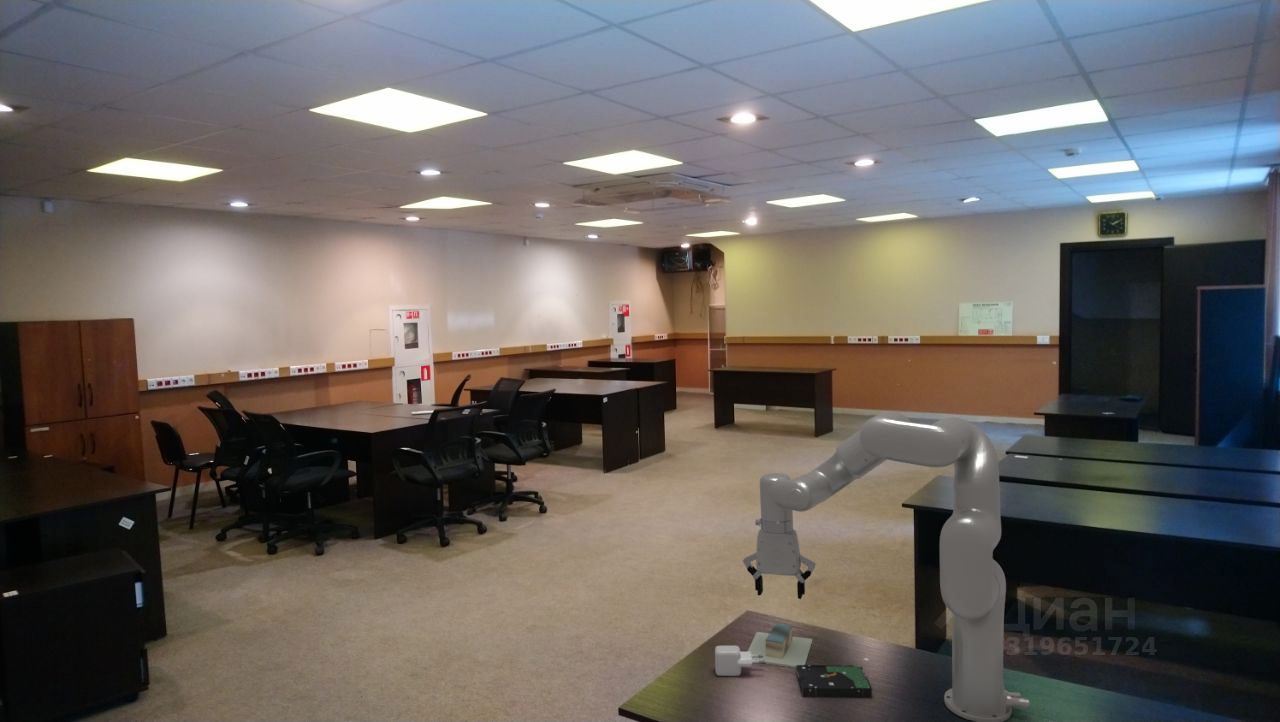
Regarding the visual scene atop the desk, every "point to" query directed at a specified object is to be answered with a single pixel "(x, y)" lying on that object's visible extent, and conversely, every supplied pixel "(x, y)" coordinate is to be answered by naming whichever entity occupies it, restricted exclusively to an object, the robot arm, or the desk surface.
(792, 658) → the mat
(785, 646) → the teal-faced wooden block
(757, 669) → the desk surface
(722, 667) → the power adapter
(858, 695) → the disk drive
